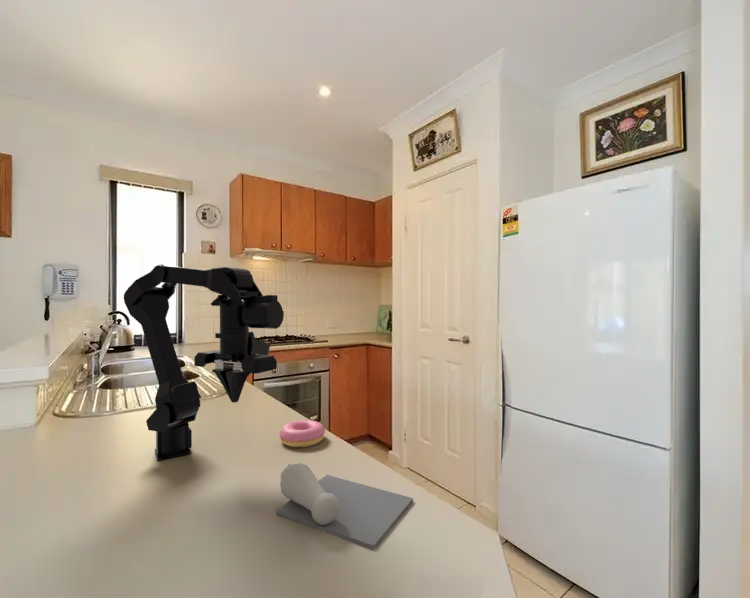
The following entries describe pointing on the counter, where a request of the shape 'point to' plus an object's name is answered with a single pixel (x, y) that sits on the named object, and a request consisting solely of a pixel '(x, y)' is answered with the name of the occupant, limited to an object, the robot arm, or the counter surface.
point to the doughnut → (302, 433)
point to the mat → (354, 511)
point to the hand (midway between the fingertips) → (234, 402)
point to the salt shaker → (308, 493)
